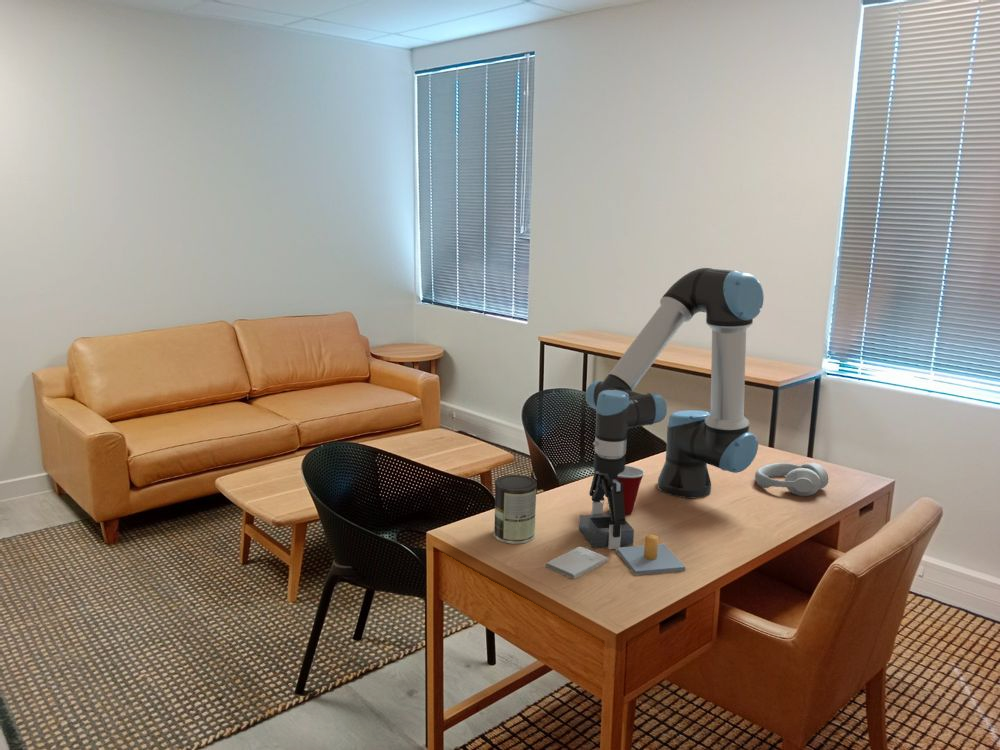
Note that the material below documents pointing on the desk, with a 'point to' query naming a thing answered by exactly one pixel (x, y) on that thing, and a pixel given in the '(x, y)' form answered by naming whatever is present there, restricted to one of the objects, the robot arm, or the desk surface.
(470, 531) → the desk surface
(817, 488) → the headphones
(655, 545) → the keeper
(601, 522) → the gray square socket block
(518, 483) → the coffee can
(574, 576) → the external hard drive
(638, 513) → the desk surface
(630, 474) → the plastic cup
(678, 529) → the desk surface
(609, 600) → the desk surface
